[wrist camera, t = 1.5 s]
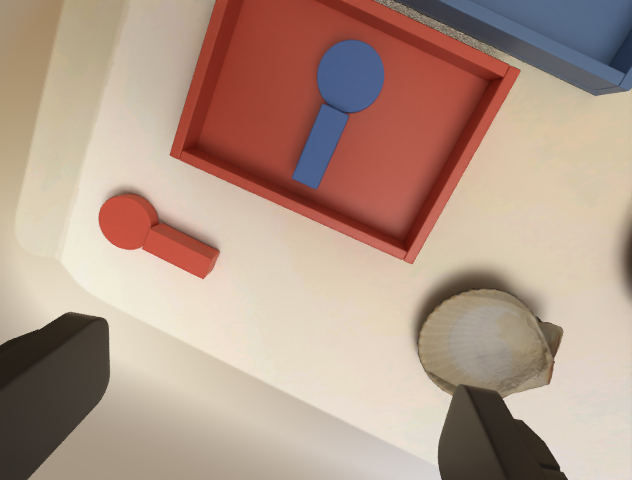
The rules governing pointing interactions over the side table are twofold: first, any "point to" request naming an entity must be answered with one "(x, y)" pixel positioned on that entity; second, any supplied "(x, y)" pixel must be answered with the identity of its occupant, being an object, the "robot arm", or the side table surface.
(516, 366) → the seashell
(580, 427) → the side table surface
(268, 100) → the red tray
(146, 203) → the red spoon
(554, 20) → the blue tray
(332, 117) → the blue spoon
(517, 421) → the robot arm
